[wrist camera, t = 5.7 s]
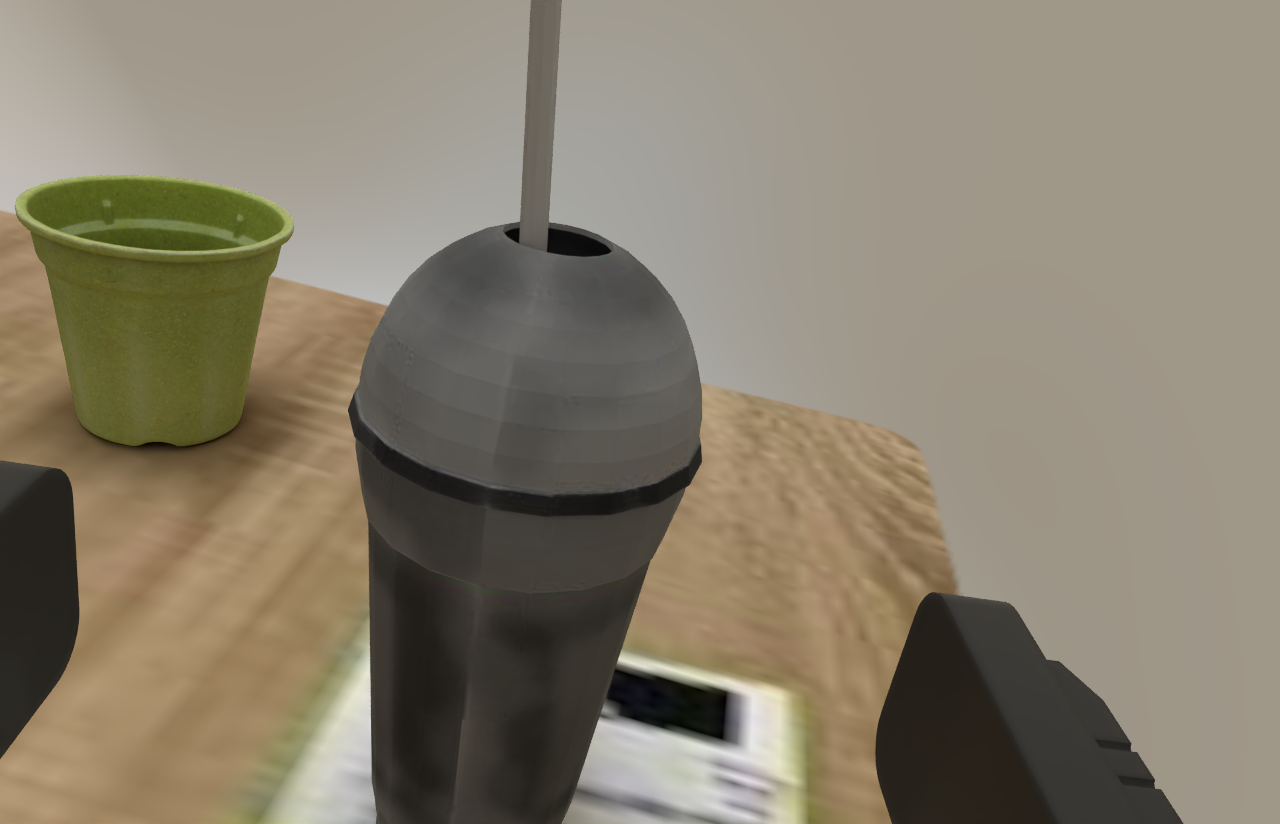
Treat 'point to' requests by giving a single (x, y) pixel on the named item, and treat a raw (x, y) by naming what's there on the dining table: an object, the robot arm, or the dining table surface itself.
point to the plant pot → (155, 298)
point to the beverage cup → (514, 495)
